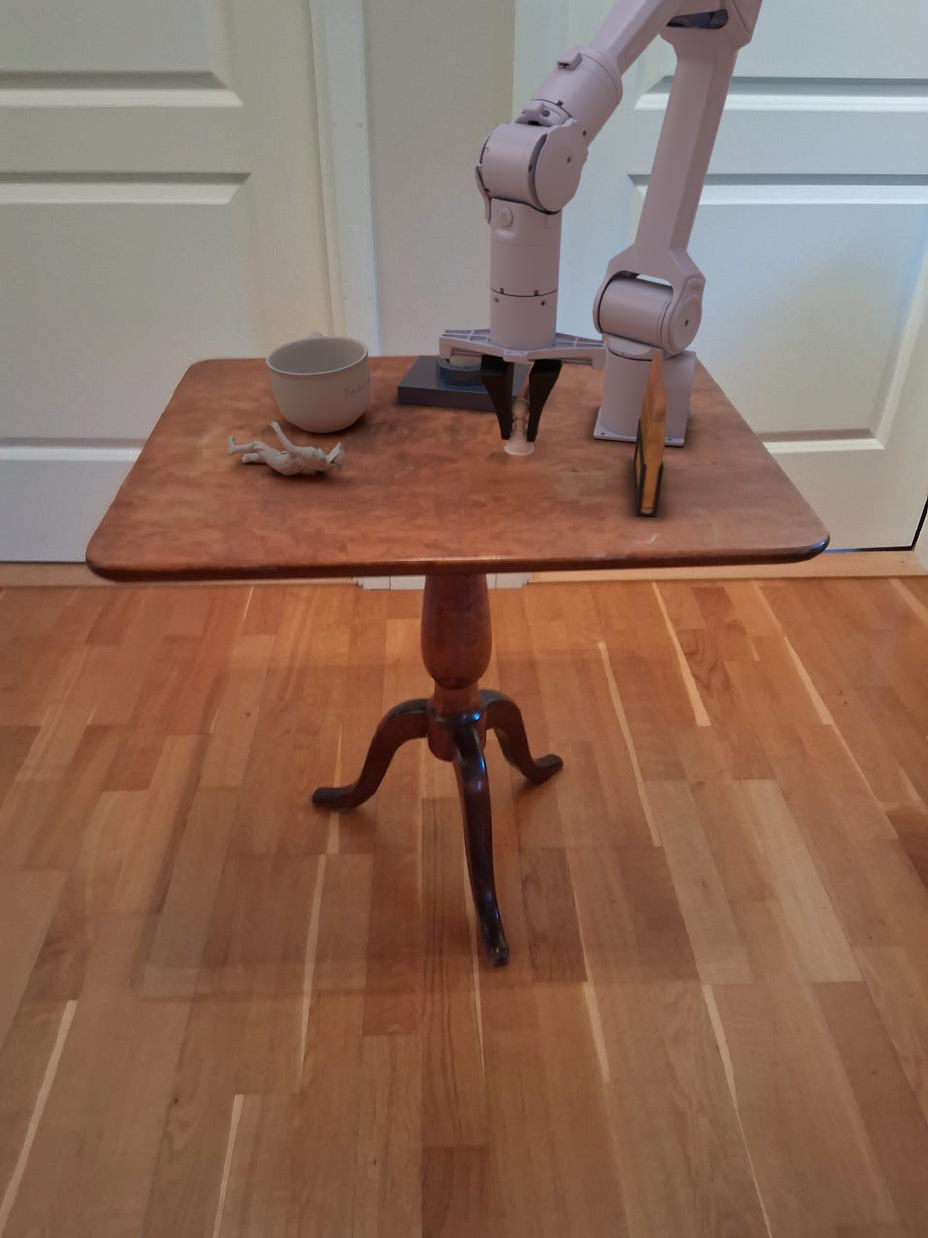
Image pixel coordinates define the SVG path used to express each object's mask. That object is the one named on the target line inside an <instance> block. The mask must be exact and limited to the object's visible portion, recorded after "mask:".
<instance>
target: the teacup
mask: <svg viewBox="0 0 928 1238" xmlns="http://www.w3.org/2000/svg"><path fill="white" fill-rule="evenodd" d="M265 365H266V367H267V369H268V370H267V371H268V374H269V380H270V384H271V388H272V389H271V390H272V394H273V396H274V401H275V404H276V407H277V409H278V411H279V413H280V414H281V416H282V417H283V418H284V419H285V420H286V421H287V422H289V423H290V424H292V425H294V426H295V427H297V428H299V429H300V430H303V431H305V432H309V433H317V434H321V433H323V434H324V433H325V434H326V433H332V432H338V431H342V430H344V429H346V428H349V427H350V426H352V425H353V424H354V423H356V421H357V420H358V419H359V418H360V417H361V416H362V415H363V414H364V413H365V412H366V410H367V409H368V407H369V405H370V402H371V394H372V391H371V390H372V388H371V376H370V374H371V373H370V365H369V348H368V346H367V345H366V344H365V343H364V342H362V341H361V340H359V339H356V338H352V337H347V336H340V335H338V336H336V335H326V336H325V335H323V334H322V333H321V332H318V331H316V332H310V333H309V334H308V337H306V338H301V339H296V340H292V341H290V342H289V341H288V342H286V343H284V344H282V345H280V346H278V347H276V348H274V349H273V350H272V351H270V352H269V354H267V356H266V358H265Z"/></svg>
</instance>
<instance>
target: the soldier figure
mask: <svg viewBox="0 0 928 1238" xmlns="http://www.w3.org/2000/svg"><path fill="white" fill-rule="evenodd" d="M269 426H270V427H272V428H273V430H274V432H275V433H276V434H277V436H276V438H277V439H278V441H279V442H280V443H281V446H282V447H283V448H284V449H285V450H284V451H283V450H282V451H279V450H278V449H276V448H273V447H270V446H269V445H268V444H266V443H265V442H263V441H262V440H261V441H260V440H254V441H253V442H249V443H245V444H236V438H235V436H233V435H229V437H228V438H227V444H228V448H227V455H228V456H229V457H230V456H234V455H236V454H239V455H240V454H241V455H243V456H242V457H241V463H243V464H248V463H249V462H265V463H266V465H267V466H269V467H270V468H271V469H273V470H275V471H277V472H278V473H281V474H282V475H284V476H291V475H296V474H298V473H299V472H302V471H304V470H307V471H317V472H325V471H326V470H327V469H329V468H330V469H334V468H335V469H336V470H337V471H338V472H339V474H340V473H342V471H343V469H344V467H345V463H346V458H345V451H344V448H343V445H342V442H341V441H339V442H338V444H336V446H335V447H333V448H330V452H329V454H328V453H327V451H328V450H329V448H327V449H325V450H324V451H323V449H322V448H319V447H317V449H316V448H315V447H313V446H309V445H308V446H305V447H303V446H296V445H294V444H293V443H292V442H291V441H290V440H289V439H288V437H287V436H286V435H285V433H283V431H282V429H281V428H282V427H281V426H280V424H279V423H278V422H277V421H273V420H272V421H271V422H270V424H269Z"/></svg>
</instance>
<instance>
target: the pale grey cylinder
mask: <svg viewBox="0 0 928 1238" xmlns="http://www.w3.org/2000/svg"><path fill="white" fill-rule="evenodd" d="M449 364H451V365H454V366H462V367H472V366H478V365H481V358H472V357H459V356H452V358H450V359H449Z"/></svg>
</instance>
